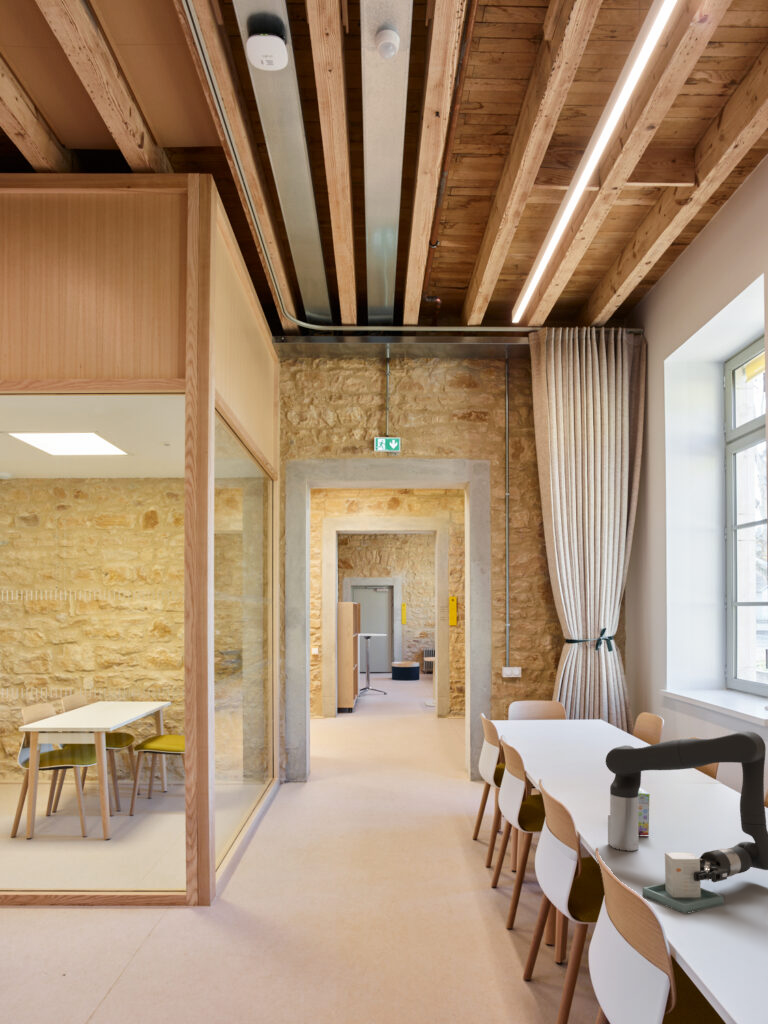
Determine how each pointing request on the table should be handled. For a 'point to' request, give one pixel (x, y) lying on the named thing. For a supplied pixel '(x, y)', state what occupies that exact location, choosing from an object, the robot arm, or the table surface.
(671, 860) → the small box
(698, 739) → the robot arm
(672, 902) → the tray
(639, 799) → the snack box
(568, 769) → the table surface
